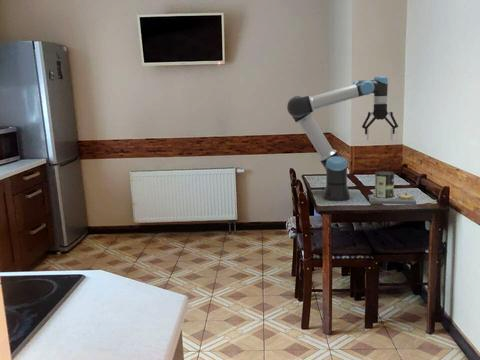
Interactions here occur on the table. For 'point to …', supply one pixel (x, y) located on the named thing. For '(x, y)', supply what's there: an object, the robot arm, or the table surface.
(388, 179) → the coffee can
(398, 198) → the gear board
